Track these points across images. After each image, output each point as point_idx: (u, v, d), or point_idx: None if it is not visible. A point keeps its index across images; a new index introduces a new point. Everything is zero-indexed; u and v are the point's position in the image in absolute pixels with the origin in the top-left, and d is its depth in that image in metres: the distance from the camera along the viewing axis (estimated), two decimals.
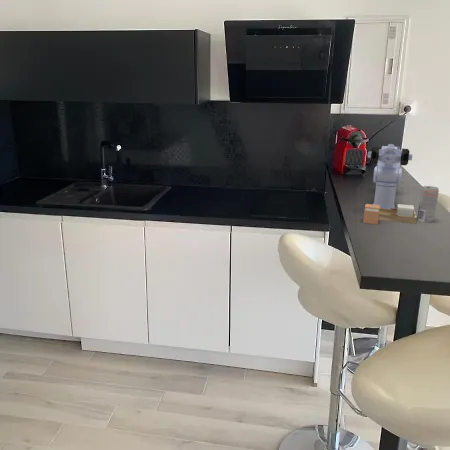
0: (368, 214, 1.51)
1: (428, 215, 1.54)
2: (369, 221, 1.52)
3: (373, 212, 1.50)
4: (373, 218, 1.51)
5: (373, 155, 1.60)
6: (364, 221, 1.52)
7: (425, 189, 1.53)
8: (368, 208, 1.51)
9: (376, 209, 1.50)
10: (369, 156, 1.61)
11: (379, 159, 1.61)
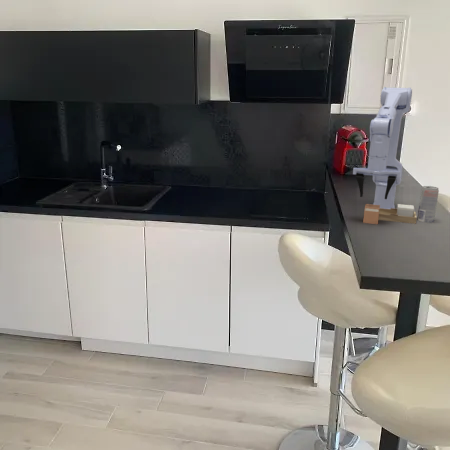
0: (368, 214, 1.51)
1: (428, 215, 1.54)
2: (369, 221, 1.52)
3: (373, 212, 1.50)
4: (373, 218, 1.51)
5: None
6: (364, 221, 1.52)
7: (425, 189, 1.53)
8: (368, 208, 1.51)
9: (376, 209, 1.50)
10: None
11: None
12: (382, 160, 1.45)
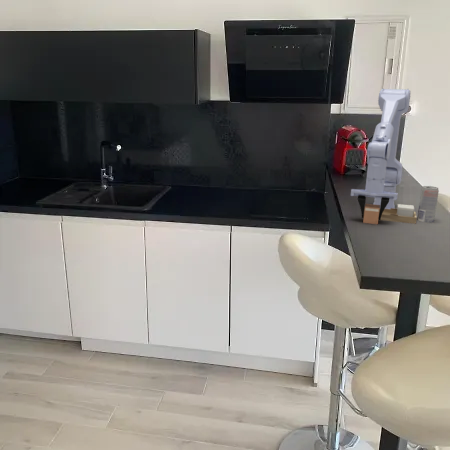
0: (368, 214, 1.51)
1: (428, 215, 1.54)
2: (369, 221, 1.52)
3: (373, 212, 1.50)
4: (373, 218, 1.51)
5: None
6: (364, 221, 1.52)
7: (425, 189, 1.53)
8: (368, 208, 1.51)
9: (376, 209, 1.50)
10: None
11: None
12: (379, 183, 1.47)
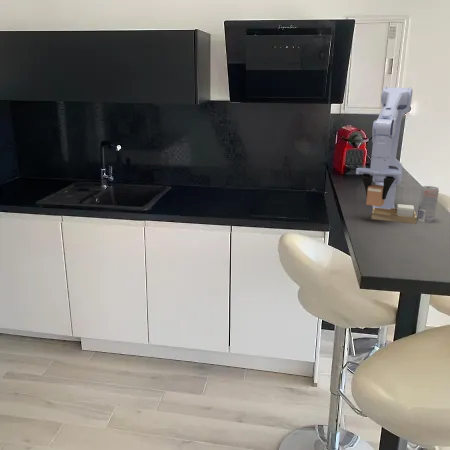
0: (371, 195, 1.51)
1: (428, 215, 1.54)
2: (372, 201, 1.51)
3: (376, 192, 1.50)
4: (376, 198, 1.50)
5: None
6: (367, 201, 1.52)
7: (425, 189, 1.53)
8: (371, 188, 1.50)
9: (379, 189, 1.49)
10: None
11: None
12: (382, 161, 1.47)
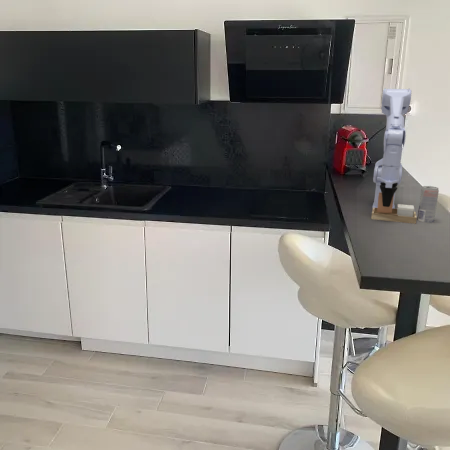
0: None
1: (428, 215, 1.54)
2: None
3: None
4: None
5: None
6: None
7: (425, 189, 1.53)
8: None
9: None
10: None
11: None
12: (383, 168, 1.54)
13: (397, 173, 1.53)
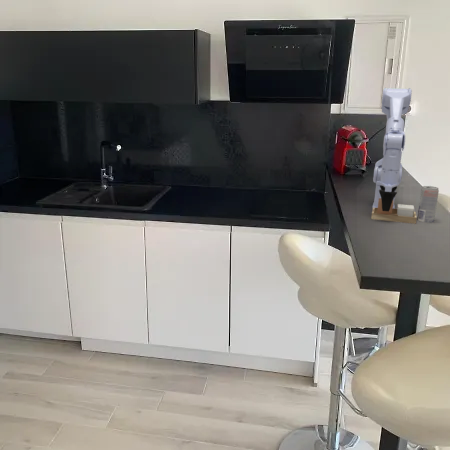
0: None
1: (428, 215, 1.54)
2: None
3: None
4: None
5: None
6: None
7: (425, 189, 1.53)
8: None
9: (378, 201, 1.58)
10: None
11: None
12: (382, 172, 1.55)
13: (397, 177, 1.53)
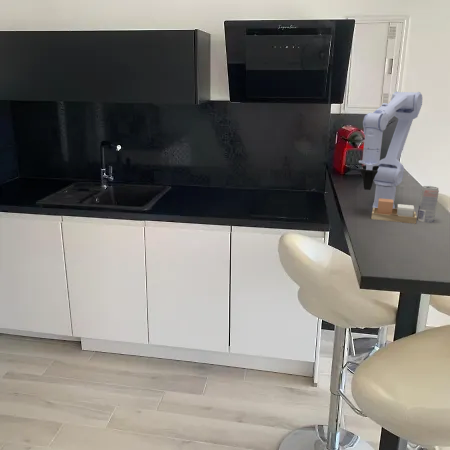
0: None
1: (428, 215, 1.54)
2: None
3: None
4: None
5: None
6: None
7: (425, 189, 1.53)
8: None
9: (378, 201, 1.58)
10: None
11: None
12: (364, 151, 1.58)
13: (378, 156, 1.57)
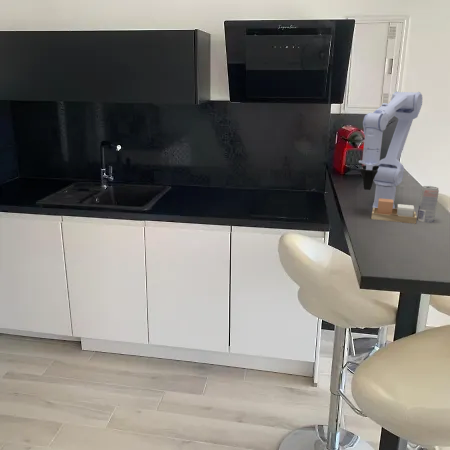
0: None
1: (428, 215, 1.54)
2: None
3: None
4: None
5: None
6: None
7: (425, 189, 1.53)
8: None
9: (378, 201, 1.58)
10: None
11: None
12: (364, 151, 1.58)
13: (378, 156, 1.57)
